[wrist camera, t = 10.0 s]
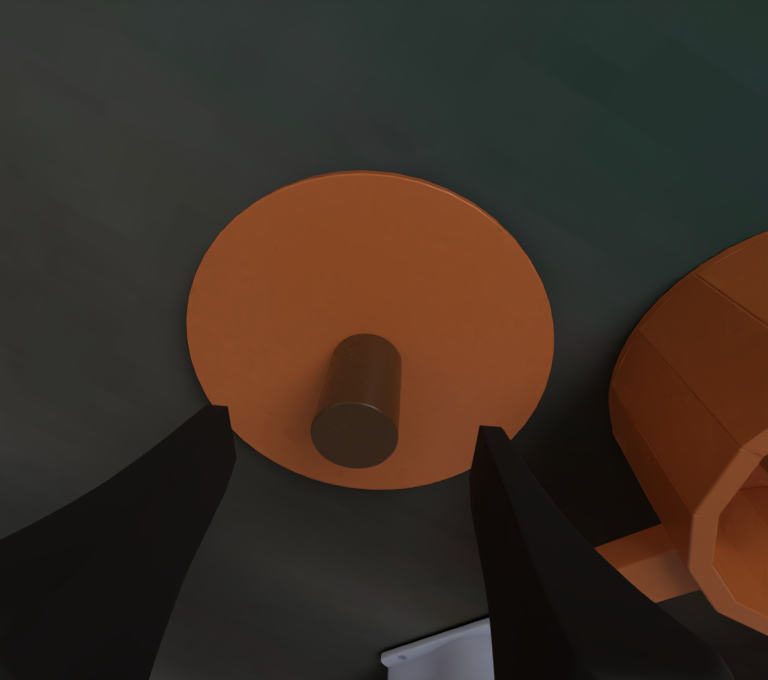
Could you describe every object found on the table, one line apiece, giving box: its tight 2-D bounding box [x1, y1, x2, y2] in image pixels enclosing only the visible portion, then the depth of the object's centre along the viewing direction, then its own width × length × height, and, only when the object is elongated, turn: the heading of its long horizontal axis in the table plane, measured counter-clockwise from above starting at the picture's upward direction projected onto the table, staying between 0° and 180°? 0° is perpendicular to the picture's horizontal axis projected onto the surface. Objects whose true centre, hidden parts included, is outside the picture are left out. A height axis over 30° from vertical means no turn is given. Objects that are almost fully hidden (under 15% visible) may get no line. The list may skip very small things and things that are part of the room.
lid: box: [187, 170, 554, 490], centre depth 16 cm, size 13×13×5 cm
